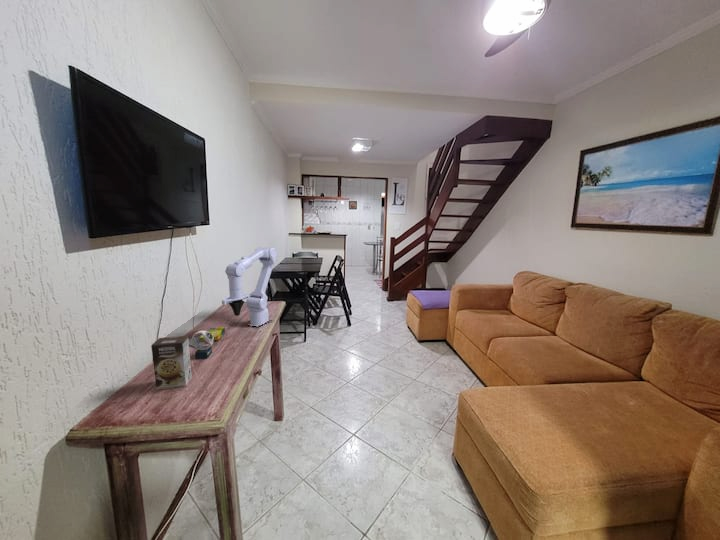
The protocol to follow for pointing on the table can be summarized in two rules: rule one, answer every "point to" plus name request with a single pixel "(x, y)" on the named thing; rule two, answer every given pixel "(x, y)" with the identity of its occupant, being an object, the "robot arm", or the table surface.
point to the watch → (203, 351)
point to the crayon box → (215, 332)
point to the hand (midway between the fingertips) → (237, 315)
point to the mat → (198, 341)
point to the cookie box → (171, 362)
